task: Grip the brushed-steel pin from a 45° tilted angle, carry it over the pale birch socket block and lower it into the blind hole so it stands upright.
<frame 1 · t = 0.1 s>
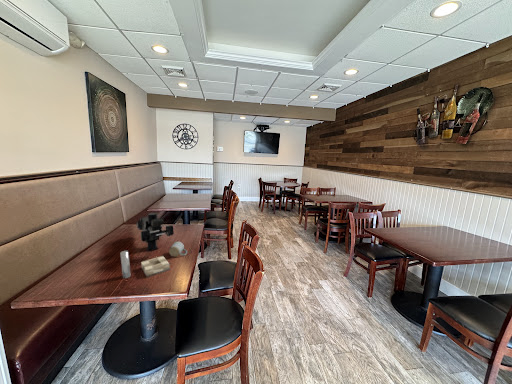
hand: (161, 236, 125), 17 cm above the table, tool horizontal, fingers open, 9 cm apart
steel pin: (126, 276, 113), on the table
socket block: (155, 269, 120), on the table
ceramic mug: (178, 254, 139), on the table
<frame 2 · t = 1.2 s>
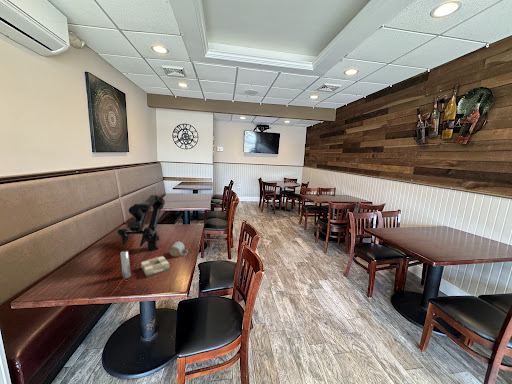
hand: (131, 246, 118), 13 cm above the table, tool tilted 45°, fingers open, 9 cm apart
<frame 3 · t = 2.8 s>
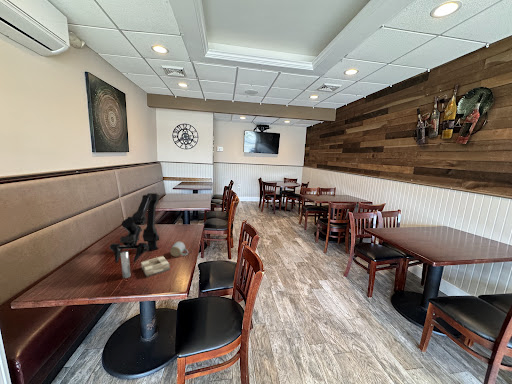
hand: (125, 262, 111), 8 cm above the table, tool tilted 45°, fingers open, 9 cm apart
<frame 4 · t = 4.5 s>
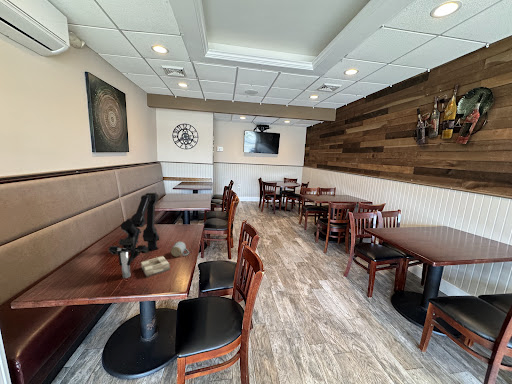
hand: (124, 265, 110), 7 cm above the table, tool tilted 45°, fingers closed on steel pin, 4 cm apart
steel pin: (126, 276, 113), on the table, touching gripper
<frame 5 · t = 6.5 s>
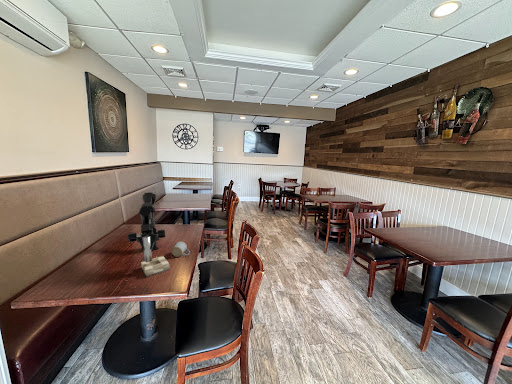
hand: (147, 249, 115), 13 cm above the table, tool tilted 45°, fingers closed on steel pin, 4 cm apart
steel pin: (148, 260, 117), point 6 cm above the table, touching gripper
when the fingers open (8 cm above the table, at t = 8.7 s): steel pin stays where it is, resting on socket block.
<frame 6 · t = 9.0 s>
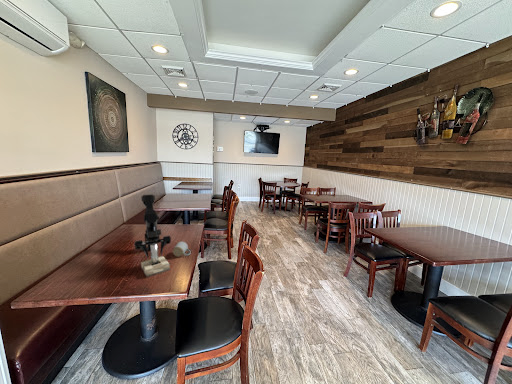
hand: (154, 256, 117), 9 cm above the table, tool tilted 45°, fingers open, 6 cm apart
steel pin: (155, 267, 120), point 1 cm above the table, touching socket block
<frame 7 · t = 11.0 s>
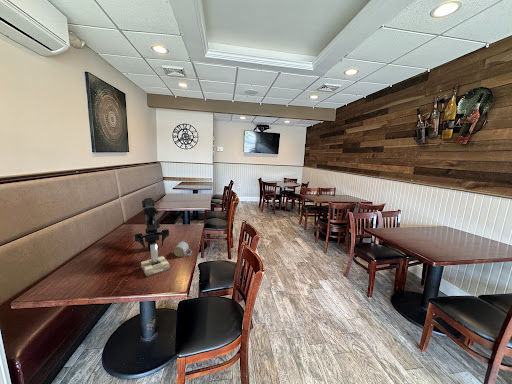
hand: (153, 248, 123), 11 cm above the table, tool tilted 45°, fingers open, 9 cm apart
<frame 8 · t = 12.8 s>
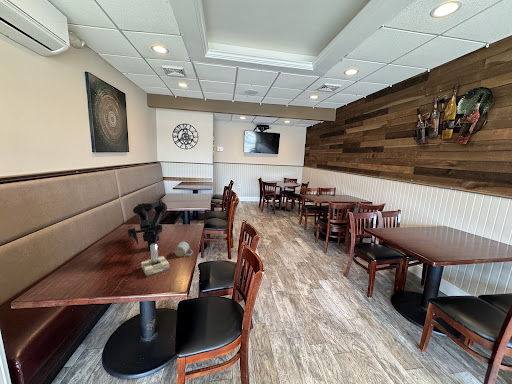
hand: (146, 243, 125), 13 cm above the table, tool tilted 45°, fingers open, 9 cm apart
at the end: steel pin 0.0 cm off-centre on the socket block, point 1.0 cm above the socket block's base; steel pin tilted 0°; the gripper is holding nothing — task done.
